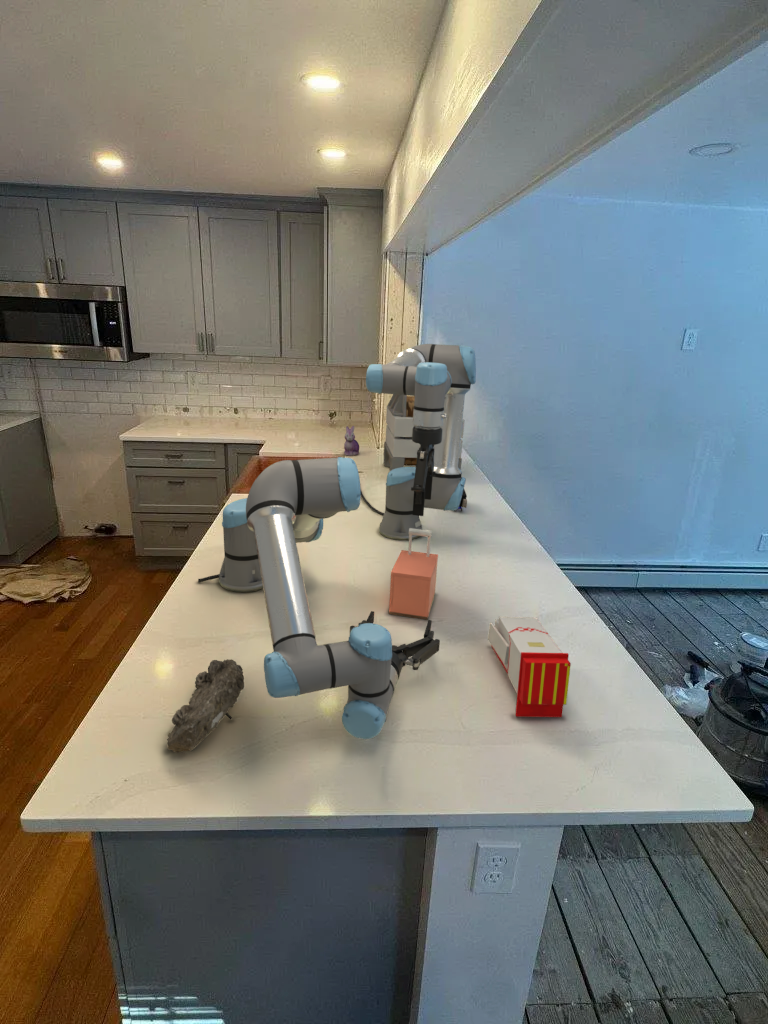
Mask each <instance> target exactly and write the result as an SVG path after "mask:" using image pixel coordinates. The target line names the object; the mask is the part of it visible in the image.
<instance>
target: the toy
mask: <svg viewBox="0 0 768 1024" xmlns="http://www.w3.org/2000/svg"><path fill="white" fill-rule="evenodd" d="M488 625H489V627H488V633H487V641H488V642H489V644H490V646H491V647H490V648H491V649H492V650H493V652H494V654H495V656H496V658H497V659H498V660H499V662H500V664H501V666H502V668H503V669H504V671H505V673H506V674H507V676H508V678H509V680H510V682H511V685H512V686H513V689H514V690H515V693H516V704H515V717H516V718H517V717H518V718H519V717H520V718H521V717H522V718H563V710H564V705H567V701H568V692H569V685H570V684H569V683H570V676H571V675H570V674H571V666H572V664H571V661H570V660H569V655H570V654H569V653H568V652H563V651H562V649H561V648H560V647H559V646H558V644H557V643H556V642H555V640H554V639H553V638H552V636H551V635H550V634H549V632H548V631H547V629H546V628H545V627H544V626H543V624H542V622H541V621H540V620H539V619H538V618H537V616H498V618H496V619H494V623H493V622H489V624H488Z"/></svg>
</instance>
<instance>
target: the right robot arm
mask: <svg viewBox="0 0 768 1024" xmlns="http://www.w3.org/2000/svg"><path fill="white" fill-rule="evenodd" d="M476 381H477V363H476V352H475V349H474V348H473V347H471V346H467V345H461V344H459V345H457V344H440V343H439V344H438V343H437V344H436V343H435V344H434V343H423V344H418V345H413V346H411V347H408V348H405V349H403V350H402V351H400V352H399V353H398V354H397V356H396V358H394V359H393V360H391V361H390V362H388V363H386V364H381V363H371V364H369V366H368V367H367V370H366V375H365V386H366V389H367V391H368V392H369V393H374V394H379V395H382V394H384V395H393V394H398V395H407V396H415V401H414V410H413V425H415V426H414V427H413V430H412V441H413V442H415V443H419V444H420V448H419V450H418V451H417V462H416V466H404V467H401V468H396V469H393V470H391V471H390V470H389V472H388V473H387V475H386V482H385V504H384V505H385V507H384V508H385V509H384V512H382V511H380V510H378V509H377V508H375V507H374V506H373V505H372V504H371V503H370V502H369V501H368V500H367V499H366V497H365V496H364V494H363V492H362V489H361V488H360V491H361V499H362V500H363V501H364V503H365V504H366V505H367V506H368V507H369V508H370V509H371V510H372V511H373V512H375V513H377V514H379V515H381V516H382V519H381V522H379V527H378V533H379V534H380V535H381V536H382V537H385V538H387V539H389V540H395V541H409V528H413V529H421V530H423V525H422V523H421V522H422V521H421V518H420V517H424V515H425V509H433V510H442V511H444V512H445V511H451V512H452V511H453V512H455V511H457V510H458V507H459V505H460V501H461V498H462V494H463V490H465V484H466V478H465V476H462V475H463V472H462V469H461V470H460V469H459V468H458V461H459V450H460V440H462V438H461V430H462V420H463V419H464V408H465V397H466V395H467V393H468V392H469V391H470V390H471V385H475V384H476ZM454 510H455V511H454ZM420 537H421V536H418V535H412V540H415V539H418V538H420Z"/></svg>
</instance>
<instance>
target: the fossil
mask: <svg viewBox="0 0 768 1024" xmlns="http://www.w3.org/2000/svg"><path fill="white" fill-rule="evenodd" d="M243 670H244V669H243V667H242V665H240V664H237V662H236V661H235V660H234V659H232V658H231V659H227V658H226V659H224V660H223V661H222V660H217V659H212V660H211V661H210V663H209V665H208V666H207V671H201V672H199V673H198V674H197V675H196V676H195V680H194V684H195V685H194V687H195V689H194V690H193V693H192V694H191V697H190V698H189V700H188V704H184V705H182V706H181V707H180V709H177V710H176V711H175V713H174V715H173V716H172V718H171V723H172V724H173V727H172V730H171V731H170V732H168V734H167V738H166V741H167V742H166V745H167V749H168V750H169V751H173V752H174V753H176V754H178V753H182V752H188V751H189V752H192V751H193V750H195V748H196V747H197V746H199V744H200V743H201V742H203V741H204V740H205V739H206V738H207V737H208V736H209V735H210V734H211V733H212V732H214V730H215V729H217V727H218V726H219V724H220V722H221V721H222V720H223V719H224V718H225V716H226V717H227V719H229V720H233V717H232V715H230V714H229V710H230V709H231V708H234V706H235V704H236V703H237V702H238V699H239V697H240V695H241V693H242V691H243V690H245V689H244V688H245V675H244V671H243Z"/></svg>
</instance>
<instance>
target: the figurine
mask: <svg viewBox="0 0 768 1024" xmlns="http://www.w3.org/2000/svg"><path fill="white" fill-rule="evenodd" d="M354 431H355V425H352V426H351V427H349V426H346V427H345V434H344V440H345V442H344V443H343V444H344V445H343V448H344V451H343V454H344V456H356V455H359V453H360V444H359V442H358V441H357V440H356V435H355V433H354Z"/></svg>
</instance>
